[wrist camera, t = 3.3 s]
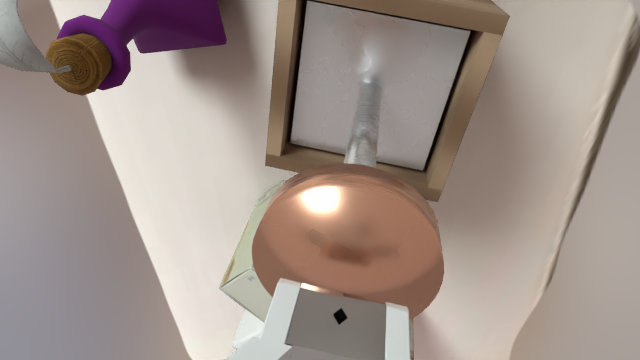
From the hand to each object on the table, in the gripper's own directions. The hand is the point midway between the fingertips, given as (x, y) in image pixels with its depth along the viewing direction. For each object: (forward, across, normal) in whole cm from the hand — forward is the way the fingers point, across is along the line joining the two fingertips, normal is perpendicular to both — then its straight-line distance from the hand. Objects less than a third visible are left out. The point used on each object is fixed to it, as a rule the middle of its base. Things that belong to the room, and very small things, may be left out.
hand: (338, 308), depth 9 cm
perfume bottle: (+27, +16, -1) cm, 31 cm away
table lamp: (+15, 0, 0) cm, 15 cm away
